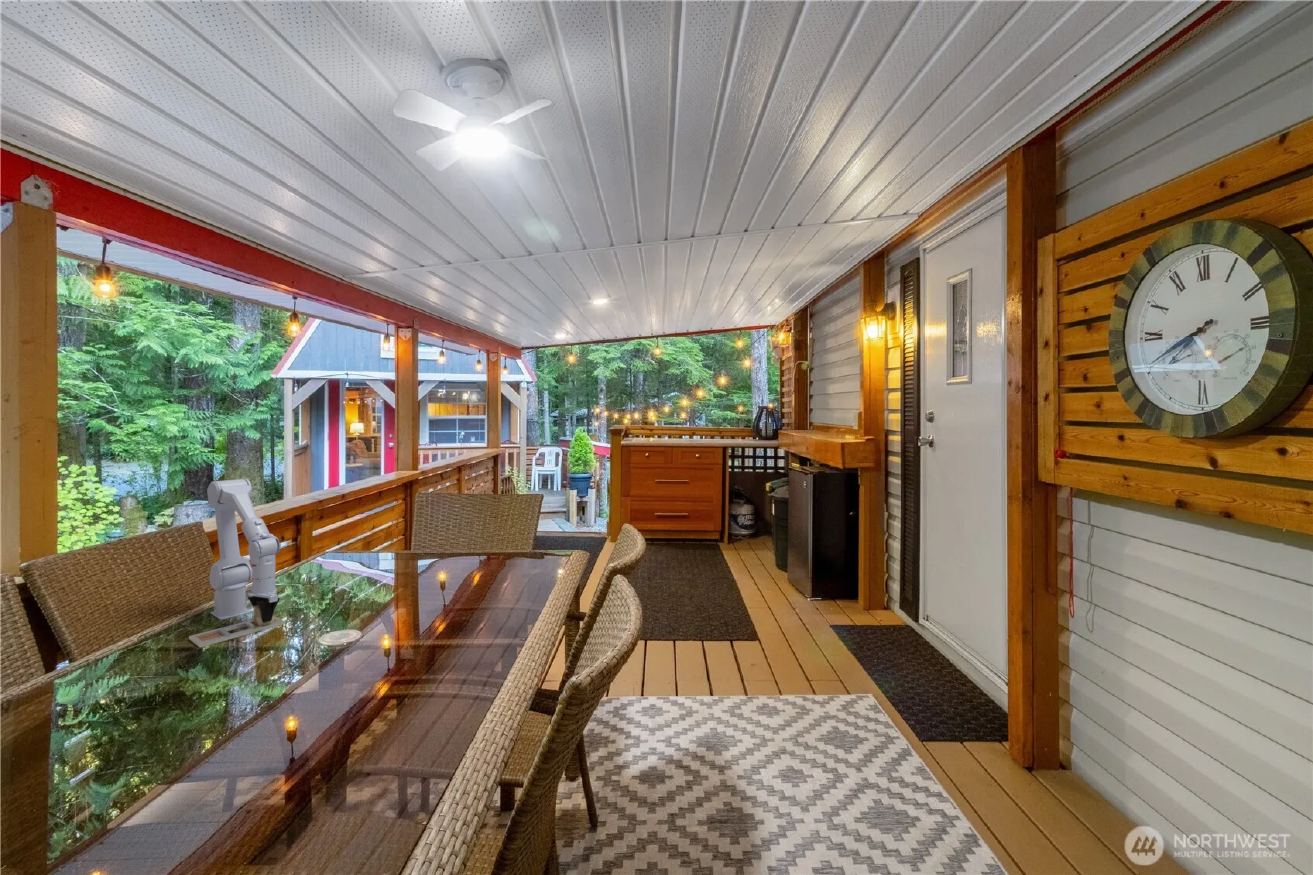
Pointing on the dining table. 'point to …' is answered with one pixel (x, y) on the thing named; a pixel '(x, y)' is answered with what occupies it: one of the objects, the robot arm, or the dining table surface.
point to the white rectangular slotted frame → (215, 636)
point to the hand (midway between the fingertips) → (263, 619)
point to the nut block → (258, 617)
